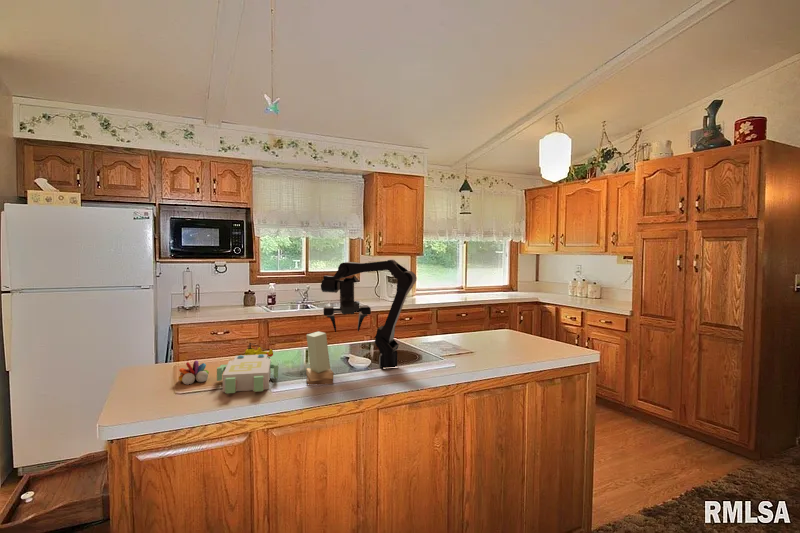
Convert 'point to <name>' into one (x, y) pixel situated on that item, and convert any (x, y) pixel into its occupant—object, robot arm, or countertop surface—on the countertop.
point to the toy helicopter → (258, 351)
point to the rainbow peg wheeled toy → (193, 373)
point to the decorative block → (247, 373)
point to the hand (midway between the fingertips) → (346, 331)
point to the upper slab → (319, 374)
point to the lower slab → (320, 381)
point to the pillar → (318, 351)
